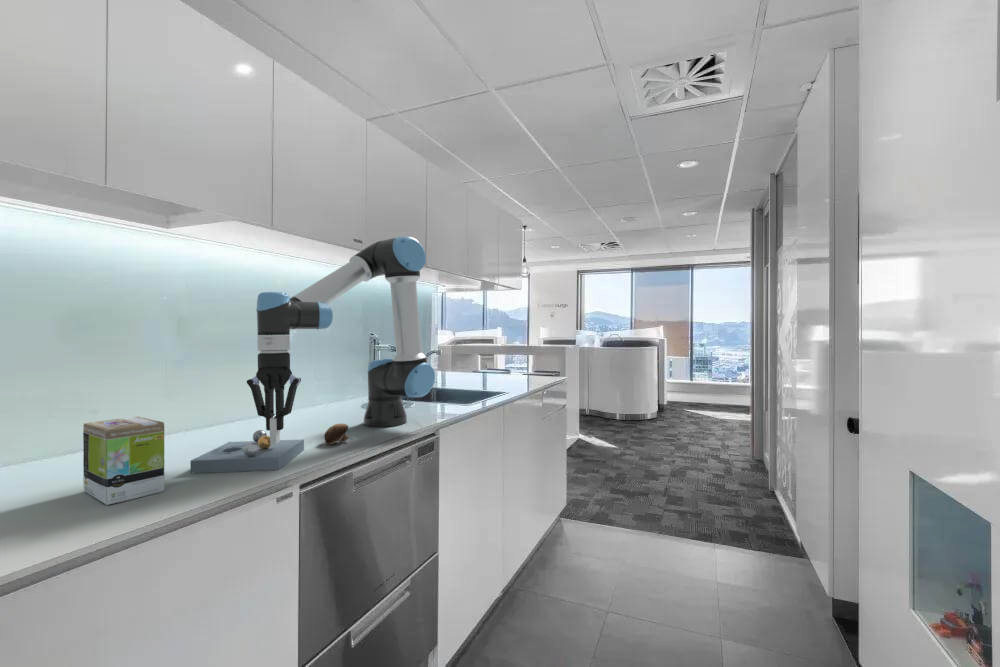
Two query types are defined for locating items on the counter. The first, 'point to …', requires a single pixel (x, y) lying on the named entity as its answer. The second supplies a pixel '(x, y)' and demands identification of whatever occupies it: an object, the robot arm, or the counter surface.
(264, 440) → the copper ball
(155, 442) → the tea box
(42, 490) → the counter surface
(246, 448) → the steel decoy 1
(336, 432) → the mushroom
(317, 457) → the counter surface
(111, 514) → the counter surface
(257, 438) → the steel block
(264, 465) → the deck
